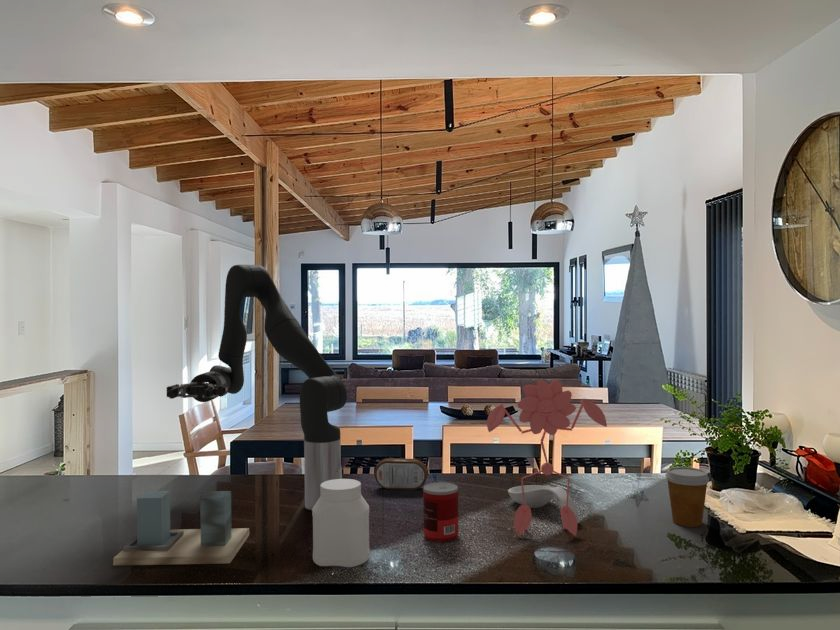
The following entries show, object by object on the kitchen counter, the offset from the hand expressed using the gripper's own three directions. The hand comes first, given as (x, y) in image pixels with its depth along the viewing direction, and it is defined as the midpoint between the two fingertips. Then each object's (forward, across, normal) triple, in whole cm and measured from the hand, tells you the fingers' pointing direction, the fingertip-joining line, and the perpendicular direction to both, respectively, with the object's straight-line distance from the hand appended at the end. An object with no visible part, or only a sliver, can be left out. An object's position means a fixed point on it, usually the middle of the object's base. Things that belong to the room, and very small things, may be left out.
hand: (188, 394), depth 156 cm
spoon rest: (0, +88, +30) cm, 93 cm away
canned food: (+17, +61, +30) cm, 70 cm away
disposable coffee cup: (+11, +119, +30) cm, 123 cm away
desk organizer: (+22, +6, +30) cm, 38 cm away
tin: (-21, +52, +30) cm, 64 cm away
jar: (+28, +40, +30) cm, 57 cm away
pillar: (+22, 0, +28) cm, 36 cm away
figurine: (+20, +84, +30) cm, 91 cm away
